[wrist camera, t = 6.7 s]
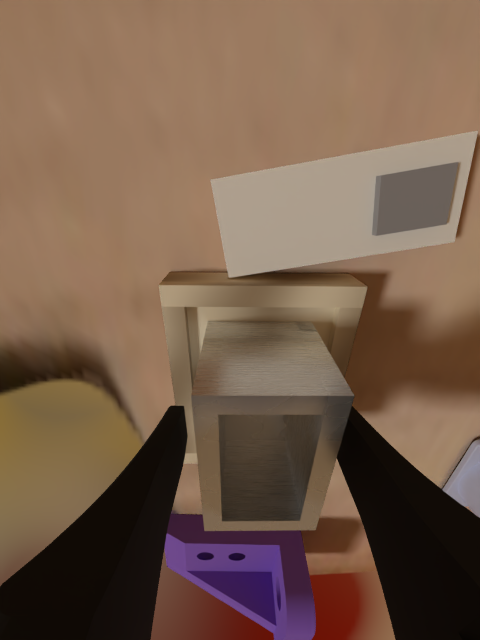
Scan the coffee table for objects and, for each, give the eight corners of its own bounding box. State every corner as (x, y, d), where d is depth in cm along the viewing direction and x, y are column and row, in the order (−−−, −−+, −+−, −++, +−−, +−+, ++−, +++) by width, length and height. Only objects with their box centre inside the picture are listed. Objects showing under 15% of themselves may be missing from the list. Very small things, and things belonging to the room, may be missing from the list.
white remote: (213, 181, 11) (209, 179, 9) (445, 139, 11) (488, 127, 9) (229, 268, 13) (228, 280, 11) (429, 236, 12) (461, 243, 11)
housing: (311, 321, 12) (354, 395, 8) (293, 434, 16) (315, 530, 11) (207, 320, 12) (190, 395, 8) (213, 434, 16) (204, 531, 11)
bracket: (297, 513, 23) (319, 627, 17) (285, 548, 26) (301, 656, 20) (166, 509, 23) (141, 626, 17) (170, 546, 26) (150, 656, 20)
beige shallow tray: (349, 273, 13) (367, 286, 11) (314, 436, 18) (322, 463, 16) (169, 272, 13) (158, 285, 11) (188, 436, 18) (183, 463, 16)
